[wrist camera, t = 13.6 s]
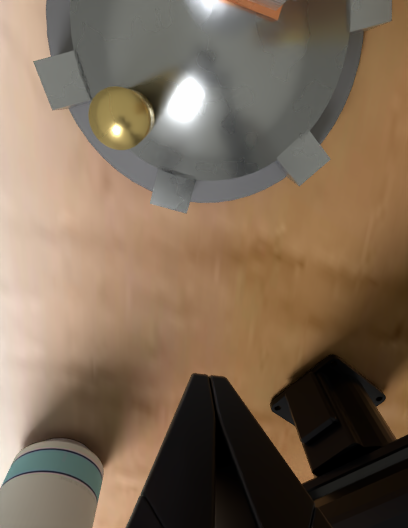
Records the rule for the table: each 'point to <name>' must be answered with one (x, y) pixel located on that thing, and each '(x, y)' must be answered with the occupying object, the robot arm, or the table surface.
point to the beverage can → (51, 486)
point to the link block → (270, 3)
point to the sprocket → (207, 82)
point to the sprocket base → (203, 189)
